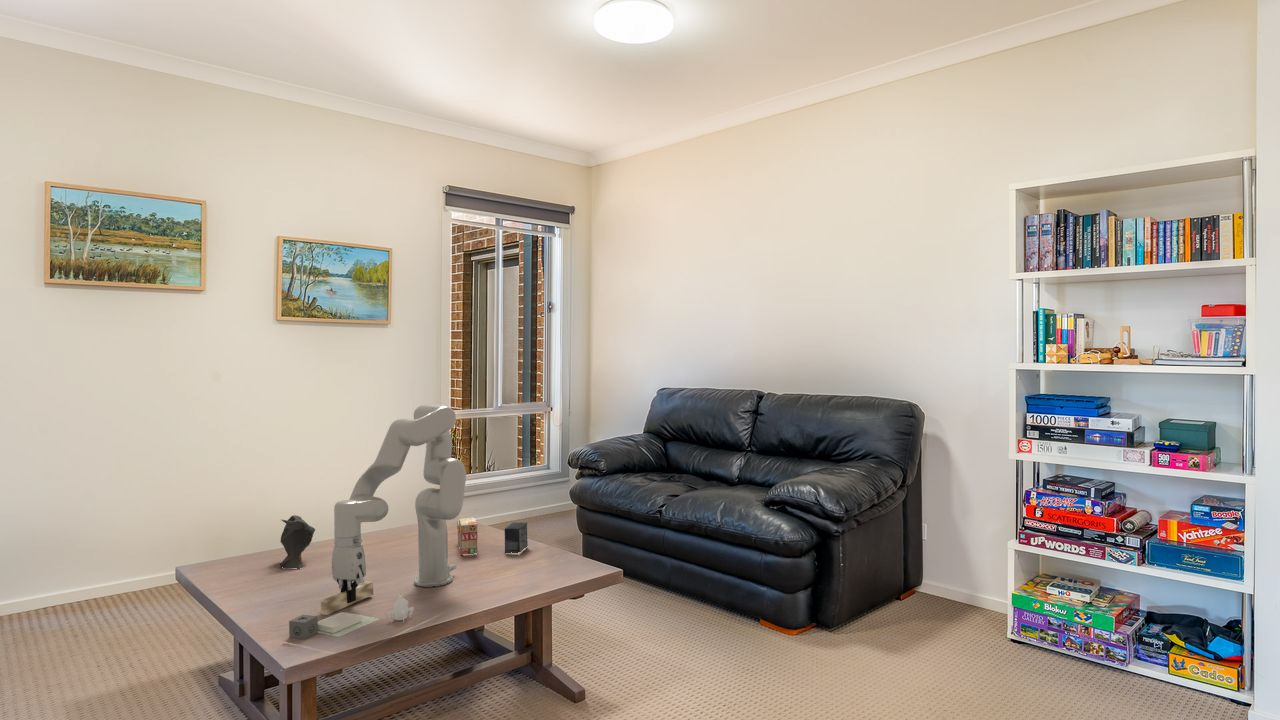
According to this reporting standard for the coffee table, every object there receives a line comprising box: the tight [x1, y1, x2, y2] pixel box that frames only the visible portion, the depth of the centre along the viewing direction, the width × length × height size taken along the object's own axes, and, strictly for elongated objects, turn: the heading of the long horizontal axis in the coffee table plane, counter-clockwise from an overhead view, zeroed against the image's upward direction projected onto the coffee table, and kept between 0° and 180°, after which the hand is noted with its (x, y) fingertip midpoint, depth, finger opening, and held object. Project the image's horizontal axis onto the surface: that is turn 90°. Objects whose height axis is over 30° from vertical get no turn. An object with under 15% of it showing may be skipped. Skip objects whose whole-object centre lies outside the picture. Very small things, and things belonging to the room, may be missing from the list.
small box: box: [504, 522, 529, 554], centre depth 284 cm, size 11×6×10 cm, turn 172°
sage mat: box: [317, 611, 380, 638], centre depth 205 cm, size 15×14×1 cm
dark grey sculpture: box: [279, 514, 316, 570], centre depth 271 cm, size 14×15×18 cm
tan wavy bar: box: [320, 580, 374, 616], centre depth 221 cm, size 18×2×4 cm, turn 155°
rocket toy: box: [386, 593, 414, 623], centre depth 208 cm, size 5×5×8 cm
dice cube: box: [288, 614, 319, 640], centre depth 197 cm, size 5×5×5 cm
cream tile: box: [318, 611, 362, 633], centre depth 204 cm, size 2×8×10 cm
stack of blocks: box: [456, 517, 478, 556], centre depth 289 cm, size 21×6×12 cm, turn 18°
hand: (348, 601), depth 221 cm, fingers closed on tan wavy bar, 1 cm apart
